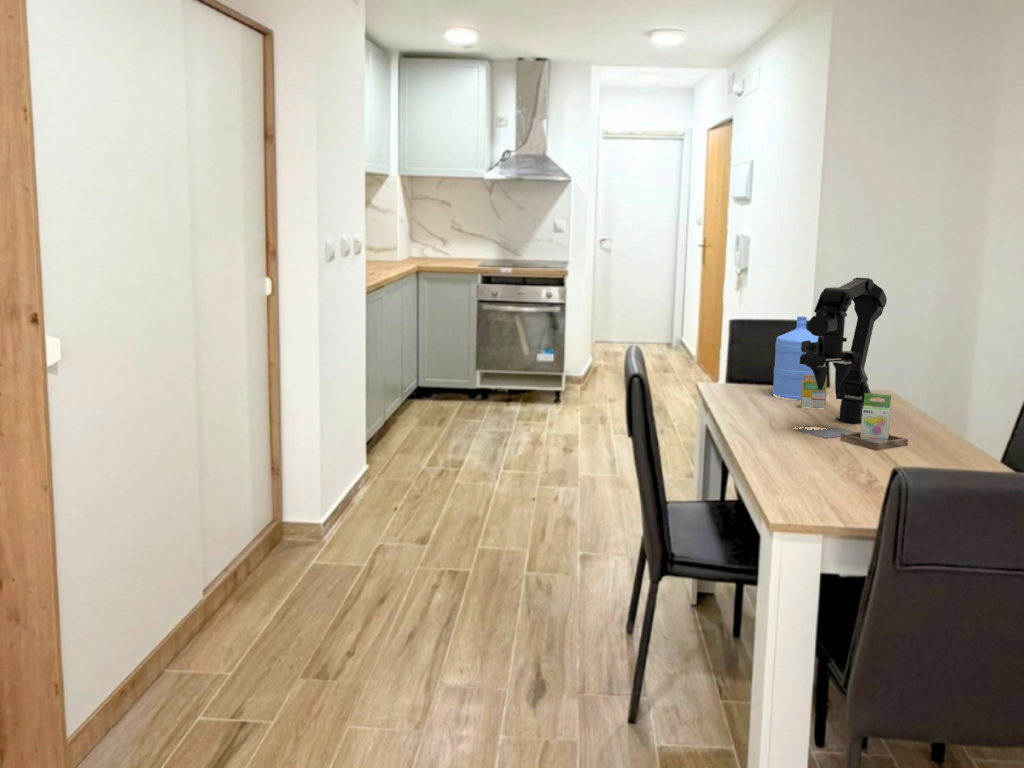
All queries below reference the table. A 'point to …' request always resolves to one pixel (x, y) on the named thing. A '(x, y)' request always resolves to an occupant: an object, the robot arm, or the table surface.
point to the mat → (826, 432)
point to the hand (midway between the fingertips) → (828, 388)
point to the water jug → (791, 361)
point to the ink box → (875, 418)
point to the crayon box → (813, 393)
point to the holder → (891, 443)
